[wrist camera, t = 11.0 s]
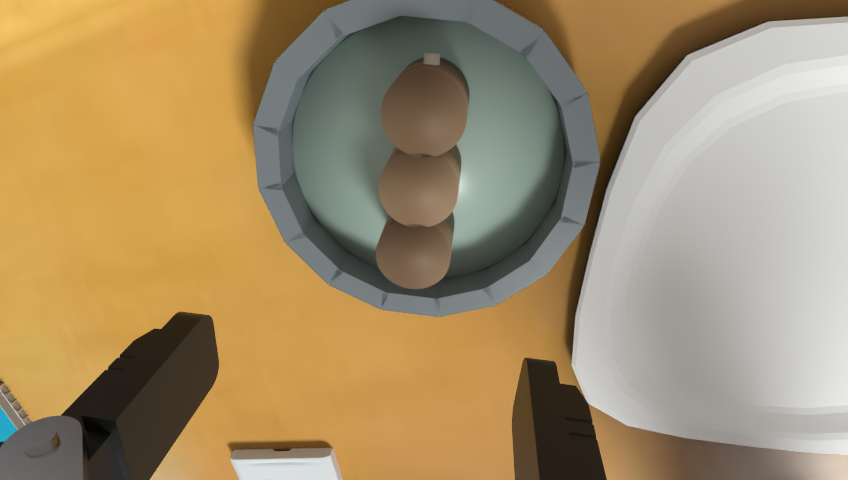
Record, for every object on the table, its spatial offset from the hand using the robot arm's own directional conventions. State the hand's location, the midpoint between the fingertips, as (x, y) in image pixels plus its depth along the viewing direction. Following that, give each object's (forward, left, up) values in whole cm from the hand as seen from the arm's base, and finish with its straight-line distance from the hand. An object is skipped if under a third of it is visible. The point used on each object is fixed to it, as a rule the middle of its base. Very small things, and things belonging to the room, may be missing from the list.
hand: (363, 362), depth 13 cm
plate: (-22, +4, -17) cm, 28 cm away
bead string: (0, 0, -15) cm, 15 cm away
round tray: (0, 0, -16) cm, 16 cm away
